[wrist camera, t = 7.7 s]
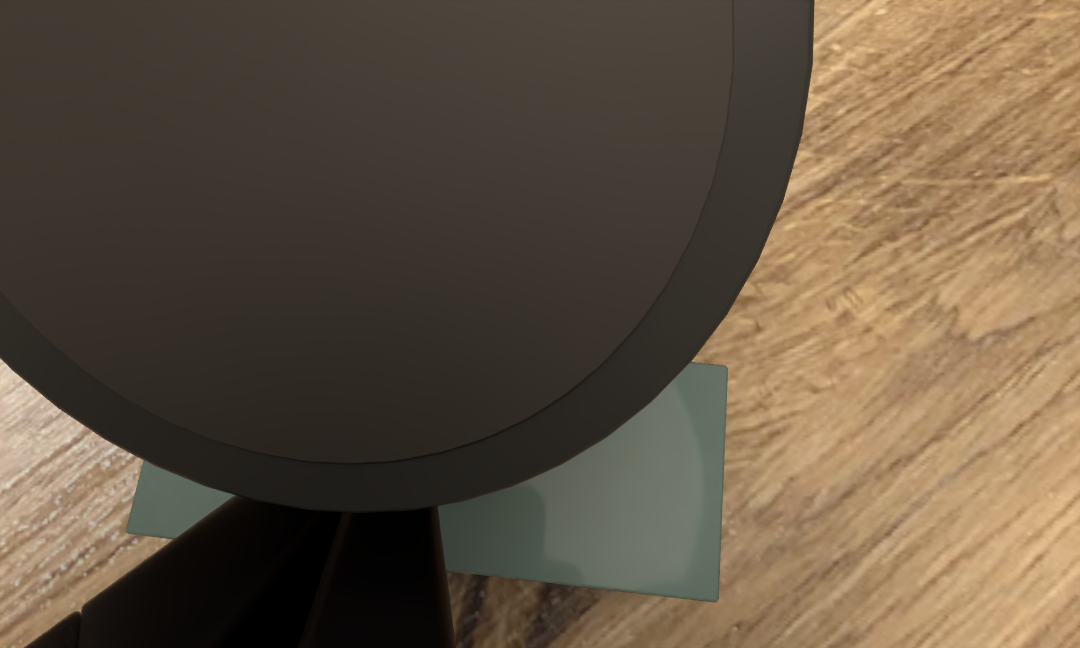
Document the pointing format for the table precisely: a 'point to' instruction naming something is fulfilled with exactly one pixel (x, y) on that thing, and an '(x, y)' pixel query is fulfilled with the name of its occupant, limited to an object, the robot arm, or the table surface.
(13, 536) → the table surface
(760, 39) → the bin
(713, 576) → the prop block
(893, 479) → the table surface
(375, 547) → the robot arm
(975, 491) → the table surface
